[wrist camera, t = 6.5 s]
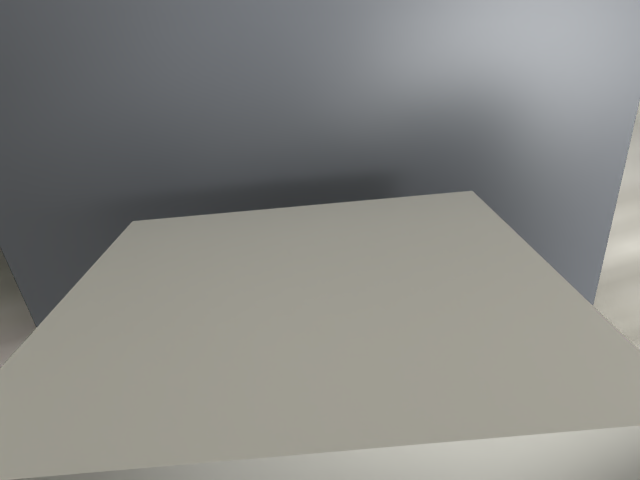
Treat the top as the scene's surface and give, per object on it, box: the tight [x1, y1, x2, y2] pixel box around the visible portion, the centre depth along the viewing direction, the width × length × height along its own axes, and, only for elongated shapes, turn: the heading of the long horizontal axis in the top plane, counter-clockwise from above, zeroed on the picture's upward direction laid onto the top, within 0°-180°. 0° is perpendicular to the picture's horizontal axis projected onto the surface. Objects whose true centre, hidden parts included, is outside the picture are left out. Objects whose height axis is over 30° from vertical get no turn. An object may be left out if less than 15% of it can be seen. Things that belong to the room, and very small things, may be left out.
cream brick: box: [0, 191, 640, 480], centre depth 7 cm, size 6×6×5 cm
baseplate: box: [0, 0, 640, 327], centre depth 11 cm, size 14×14×2 cm
